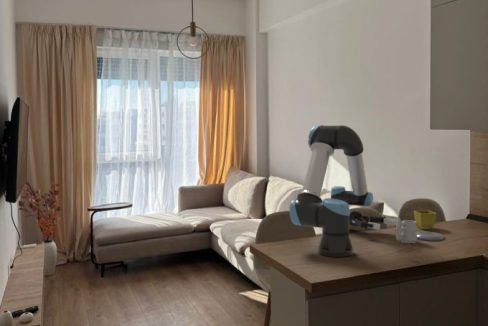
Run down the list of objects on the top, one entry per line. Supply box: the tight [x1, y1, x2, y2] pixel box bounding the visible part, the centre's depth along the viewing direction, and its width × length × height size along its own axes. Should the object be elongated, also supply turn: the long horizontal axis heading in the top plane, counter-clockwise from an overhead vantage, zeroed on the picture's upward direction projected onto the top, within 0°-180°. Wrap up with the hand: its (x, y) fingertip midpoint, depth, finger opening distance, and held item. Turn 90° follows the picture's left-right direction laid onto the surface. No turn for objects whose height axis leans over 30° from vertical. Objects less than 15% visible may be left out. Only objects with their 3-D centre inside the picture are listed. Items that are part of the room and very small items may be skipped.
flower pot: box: [413, 209, 438, 230], centre depth 247 cm, size 9×9×9 cm
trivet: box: [416, 230, 444, 242], centre depth 229 cm, size 15×15×1 cm
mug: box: [394, 217, 418, 244], centre depth 220 cm, size 8×12×12 cm, turn 112°
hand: (387, 224), depth 227 cm, fingers open, 13 cm apart
